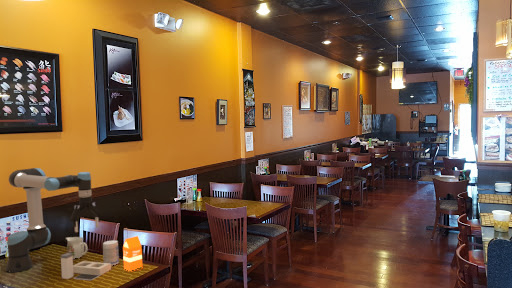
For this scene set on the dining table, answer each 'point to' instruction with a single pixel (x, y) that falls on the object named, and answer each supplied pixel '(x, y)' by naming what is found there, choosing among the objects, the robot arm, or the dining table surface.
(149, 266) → the dining table surface
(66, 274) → the white cylinder
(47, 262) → the dining table surface
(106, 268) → the white flat tray
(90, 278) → the phone
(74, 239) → the pitcher
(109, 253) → the supplement tub
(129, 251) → the orange juice
